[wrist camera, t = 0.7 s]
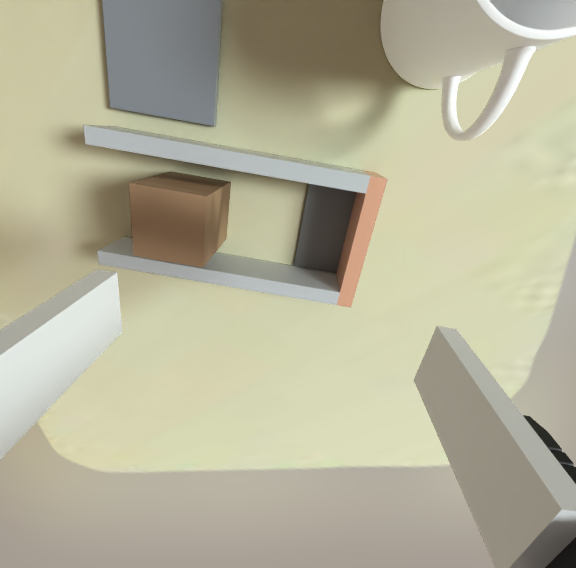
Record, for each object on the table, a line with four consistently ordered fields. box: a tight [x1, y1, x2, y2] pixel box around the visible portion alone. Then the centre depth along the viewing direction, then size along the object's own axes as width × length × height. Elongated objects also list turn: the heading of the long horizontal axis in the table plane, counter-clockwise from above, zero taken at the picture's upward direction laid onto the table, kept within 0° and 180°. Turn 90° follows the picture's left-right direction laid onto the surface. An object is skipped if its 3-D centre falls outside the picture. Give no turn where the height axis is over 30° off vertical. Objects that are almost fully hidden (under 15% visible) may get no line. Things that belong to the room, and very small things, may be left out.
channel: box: [83, 125, 387, 307], centre depth 26 cm, size 10×21×4 cm, turn 81°
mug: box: [380, 0, 576, 141], centre depth 16 cm, size 12×8×12 cm
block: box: [129, 172, 231, 267], centre depth 24 cm, size 5×5×7 cm
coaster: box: [102, 0, 223, 126], centre depth 23 cm, size 8×8×1 cm
